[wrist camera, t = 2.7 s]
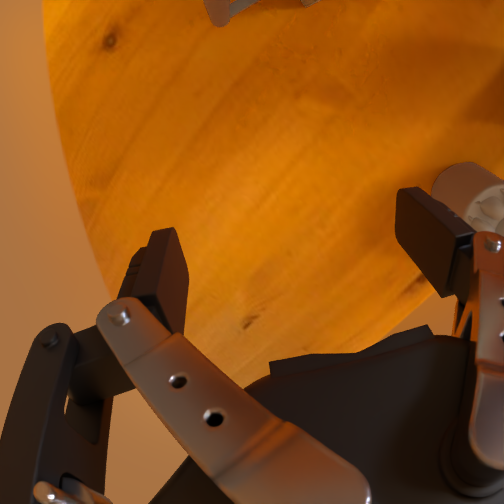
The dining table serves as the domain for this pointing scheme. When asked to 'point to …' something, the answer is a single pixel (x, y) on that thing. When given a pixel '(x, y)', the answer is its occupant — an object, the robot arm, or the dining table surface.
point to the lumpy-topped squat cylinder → (472, 196)
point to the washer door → (225, 10)
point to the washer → (309, 2)
